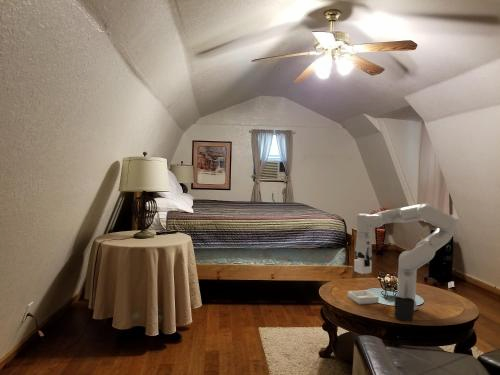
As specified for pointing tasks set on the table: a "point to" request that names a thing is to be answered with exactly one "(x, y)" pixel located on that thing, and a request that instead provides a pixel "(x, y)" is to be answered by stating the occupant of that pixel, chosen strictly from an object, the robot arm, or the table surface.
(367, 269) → the medicine bottle
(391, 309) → the table surface
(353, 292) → the tray
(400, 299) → the pen holder
